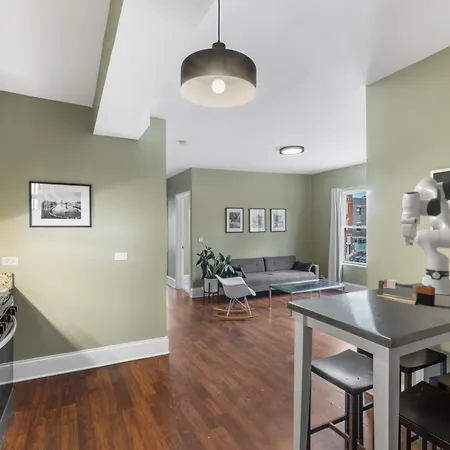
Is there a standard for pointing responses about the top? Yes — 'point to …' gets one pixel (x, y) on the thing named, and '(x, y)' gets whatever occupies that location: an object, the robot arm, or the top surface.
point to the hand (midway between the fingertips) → (409, 245)
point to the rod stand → (397, 298)
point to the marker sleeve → (391, 284)
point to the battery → (426, 295)
